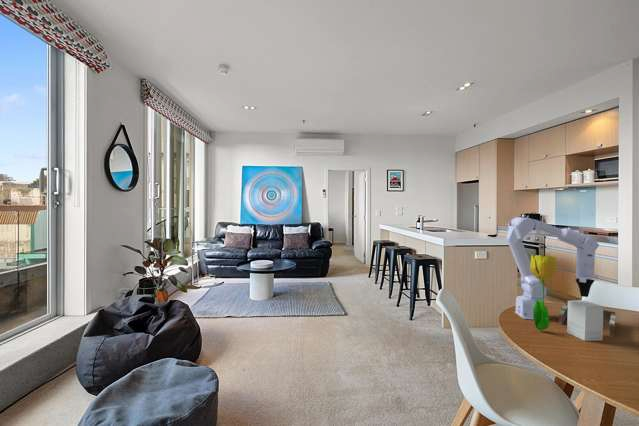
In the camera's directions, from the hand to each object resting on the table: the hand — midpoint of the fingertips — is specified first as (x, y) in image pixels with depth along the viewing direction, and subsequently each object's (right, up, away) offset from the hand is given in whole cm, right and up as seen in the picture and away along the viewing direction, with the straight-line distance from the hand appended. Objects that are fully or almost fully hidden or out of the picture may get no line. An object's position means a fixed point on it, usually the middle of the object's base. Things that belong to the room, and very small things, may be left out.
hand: (584, 296), depth 126 cm
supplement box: (-13, -11, -15) cm, 23 cm away
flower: (-26, -11, -11) cm, 30 cm away
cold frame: (-2, -11, -3) cm, 11 cm away
